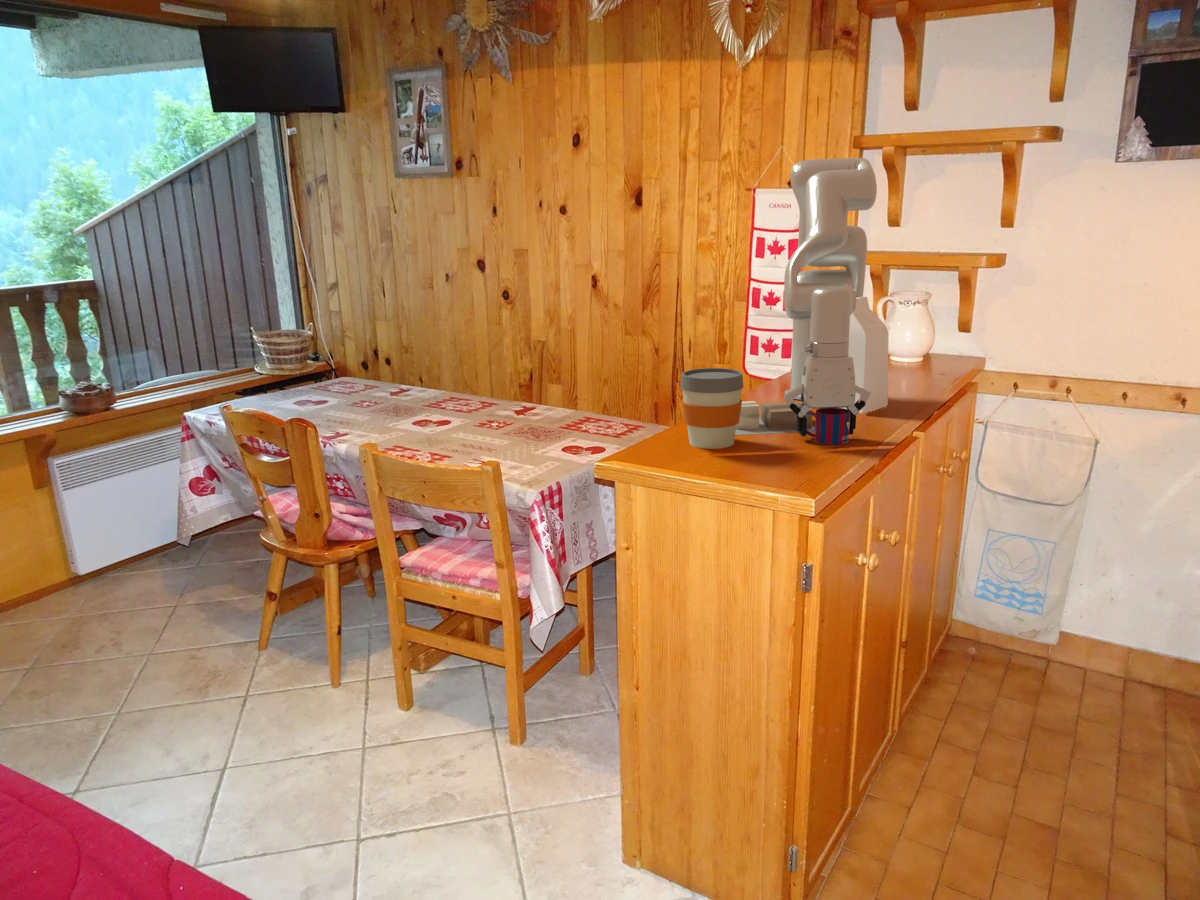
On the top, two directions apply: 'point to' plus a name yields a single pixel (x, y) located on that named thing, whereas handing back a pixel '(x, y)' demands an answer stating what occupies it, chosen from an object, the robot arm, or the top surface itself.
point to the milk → (869, 355)
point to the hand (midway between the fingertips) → (825, 433)
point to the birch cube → (749, 416)
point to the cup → (831, 426)
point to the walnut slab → (781, 416)
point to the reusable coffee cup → (711, 406)
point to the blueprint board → (766, 430)
